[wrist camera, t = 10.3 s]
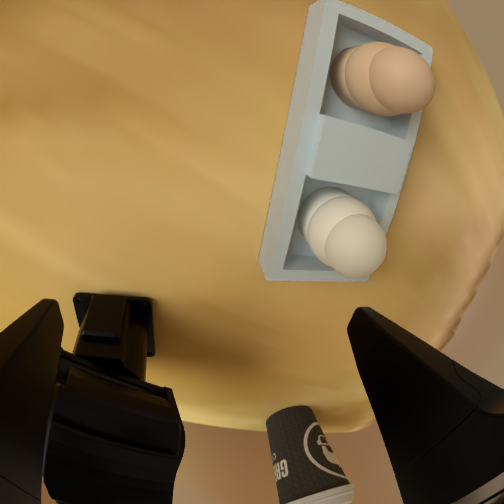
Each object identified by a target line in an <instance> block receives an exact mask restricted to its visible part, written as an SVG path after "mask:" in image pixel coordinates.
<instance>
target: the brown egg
mask: <svg viewBox="0 0 504 504" xmlns="http://www.w3.org/2000/svg"><path fill="white" fill-rule="evenodd" d="M330 80H331V84H332V87H333V90H334V92H335V93H336V95H337V96H338V98H339V99H340V100H341V101H342V102H343V103H345V104H346V105H347V106H349V107H351V108H354V109H358V110H363V111H368V112H371V113H373V114H376V115H380V116H396V115H399V114H402V113H404V114H408V113H414V112H417V111H420V110H421V109H423V108H424V107H426V106H427V105H428V103H429V102H430V101H431V99H432V97H433V94H434V91H435V79H434V75H433V72H432V70H431V68H430V66H429V65H428V63H427V62H426V61H425V60H424V59H423V58H422V57H421V56H420V55H419V54H417V53H416V52H414V51H412V50H410V49H408V48H404V47H399V46H395V45H392V44H390V43H386V42H370V43H366V44H363V45H360V46H354V47H349V48H346V49H344V50H342V51H340V52H339V53H338V54H337V55H336V57H335V58H334V60H333V62H332V64H331V68H330Z"/></svg>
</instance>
